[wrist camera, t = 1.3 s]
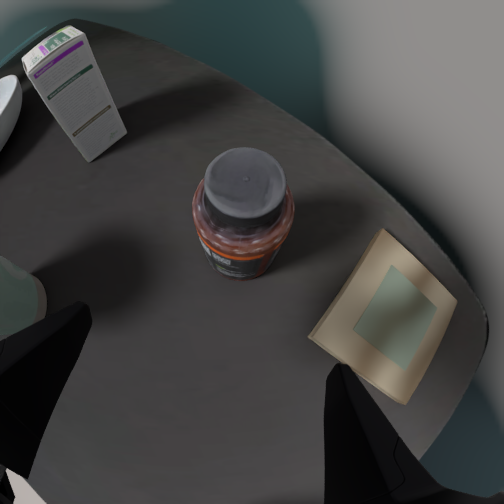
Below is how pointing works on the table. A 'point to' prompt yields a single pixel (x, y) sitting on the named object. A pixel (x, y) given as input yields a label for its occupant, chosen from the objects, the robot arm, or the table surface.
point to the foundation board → (387, 318)
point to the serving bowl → (9, 106)
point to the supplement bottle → (243, 212)
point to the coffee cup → (19, 298)
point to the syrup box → (75, 91)
